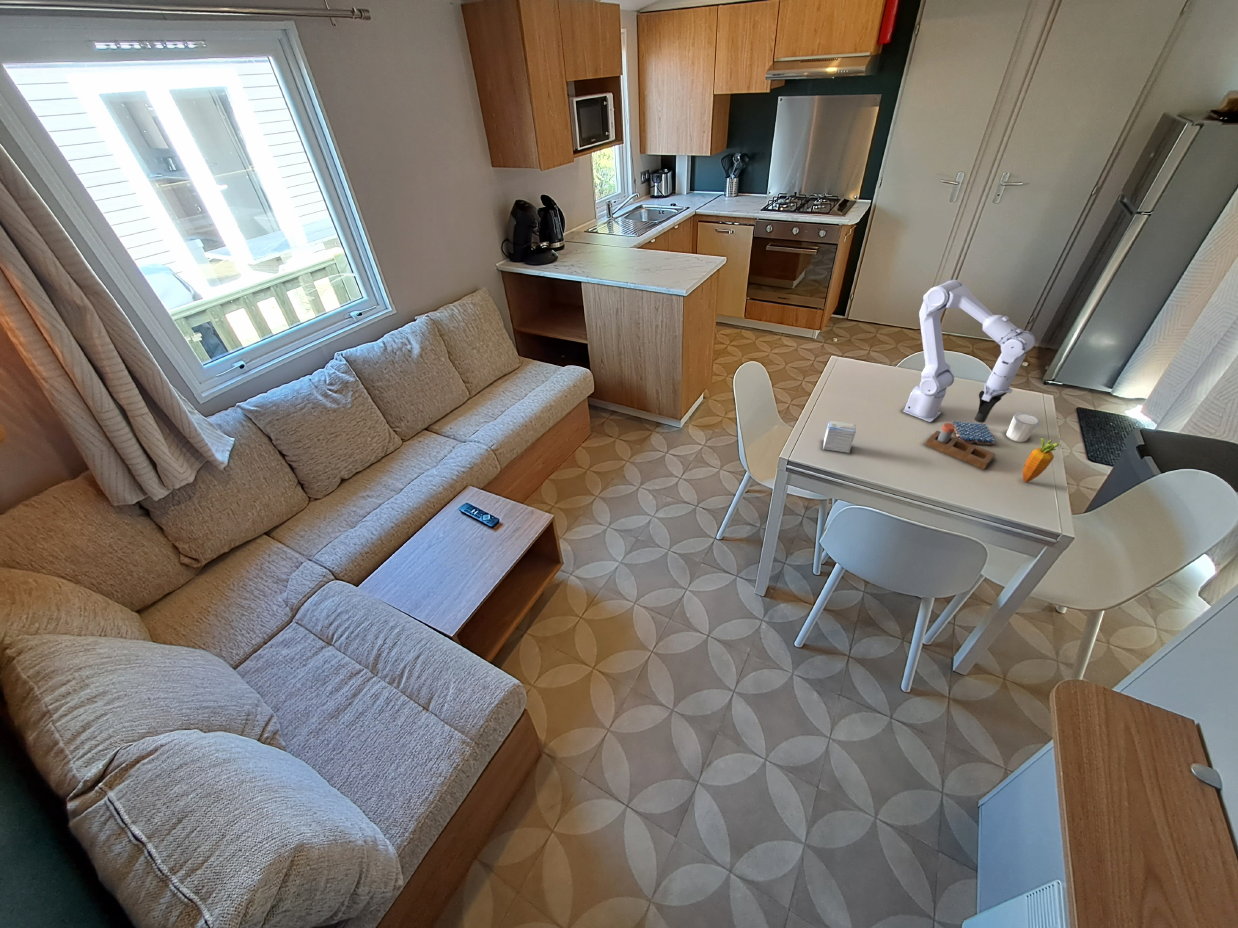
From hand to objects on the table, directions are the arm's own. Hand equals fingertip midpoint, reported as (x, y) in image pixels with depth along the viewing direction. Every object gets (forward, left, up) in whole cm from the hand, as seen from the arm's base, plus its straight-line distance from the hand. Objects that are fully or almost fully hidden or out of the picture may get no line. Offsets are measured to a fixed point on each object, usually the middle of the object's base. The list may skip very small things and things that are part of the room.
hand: (984, 411), depth 153 cm
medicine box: (-27, -36, -10) cm, 46 cm away
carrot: (+19, -13, -10) cm, 25 cm away
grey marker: (-5, -12, -10) cm, 16 cm away
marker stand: (0, -12, -10) cm, 15 cm away
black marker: (0, 0, -3) cm, 3 cm away
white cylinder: (+10, +9, -10) cm, 17 cm away
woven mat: (0, 0, -10) cm, 10 cm away
